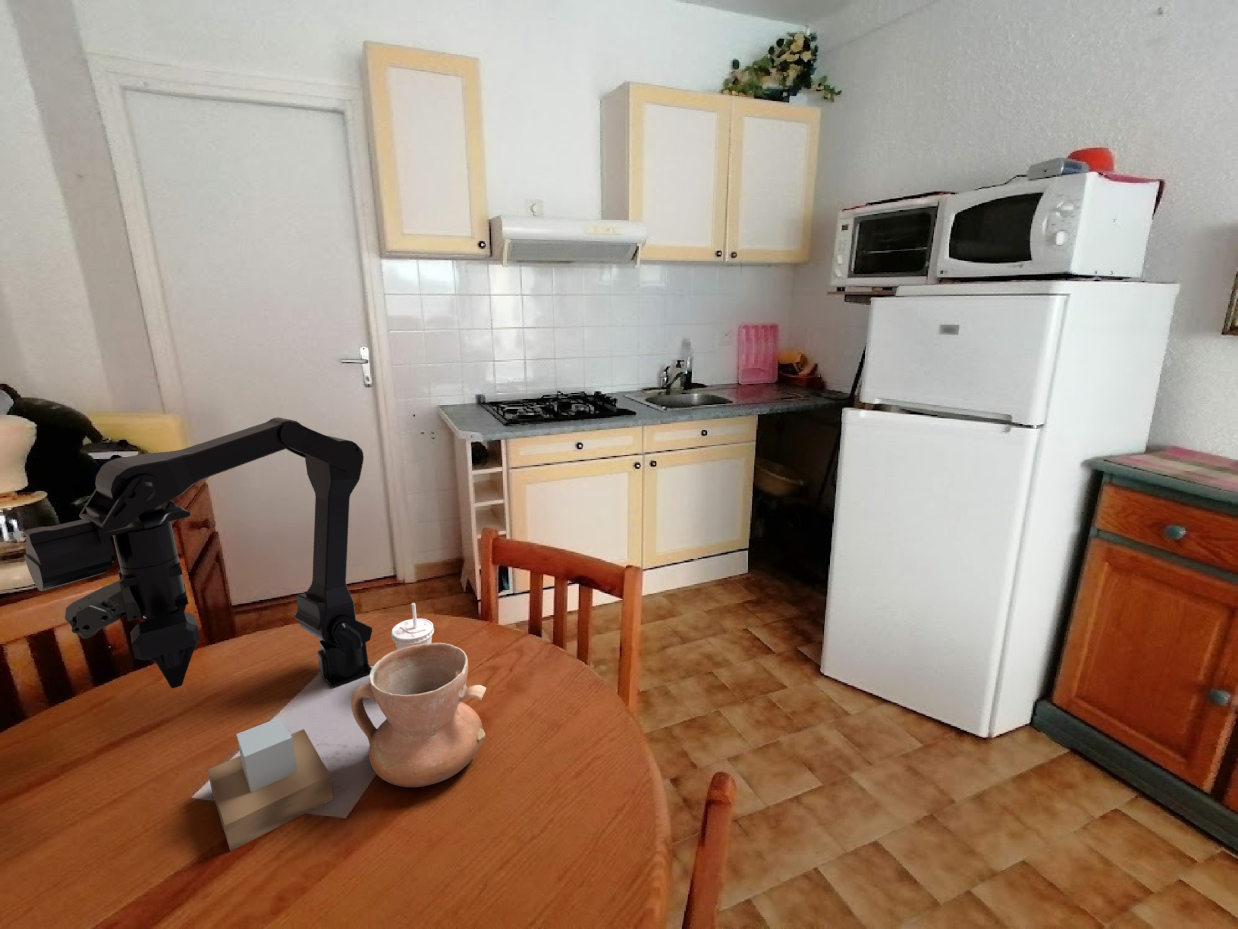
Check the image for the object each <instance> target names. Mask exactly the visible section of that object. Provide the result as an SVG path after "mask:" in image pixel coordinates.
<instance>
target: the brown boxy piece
mask: <svg viewBox="0 0 1238 929" xmlns="http://www.w3.org/2000/svg"><path fill="white" fill-rule="evenodd" d="M290 734H291V736H292V741H293V747H294V753H295V760H296V766H297V772H296V773H294V774H292V775H289V776H287V777H285V778H283V779H280V780H278V781H276V782H274V783H271V784H269V785H267V786H265V787H262V788H260V789H258V790H256V791H253V792H251V791H250V788H249V785H248V783H247V780H246V777H245V774H244V771H243V767H242V762H241V756H240V755H239V756H237V757H234V758H231V759H229V760H227V761H225V762H223V763H220V764H217V765H215V766H213V767H210V768H208V769H207V775H208V778H209V784H210V789H211V793H212V797H213V800H214V803H215V806H216V810H217V813H218V816H219V819H220V823H221V826H222V829H223V831H224V832H223V833H224V836H225V838H226V842H227V845H228V848H229V851H230V852H232V851H234V850H236V849H238V848H240V847H242V846H244V845H246V844H248V843H250V842H252V841H254V840H255V839H258V838H259V837H262V836H263V835H266V834H268V833H269V832H271V831H273V830H276V829H277V828H279V827H281V826H283V825H285V824H288V823H289V822H291V821H293V820H294V819H297V818H299V817H301V816H303V815H305V814H307V813H309V812H311V811H312V810H315V809H317V808H319V807H320V806H323V805H325V804H326V802H327V803H328V801H329V802H331V801H333V800H334V793H333V787H332V780H331V774H330V773H329V771H328V769H327V767H326V765H325V764H324V762H323V760H322V758H321V756H320V754H319V753H318V751H317V750H316V747H315V746H314V744H313V742H312V741H311V739H310V737H309V736H308V733H307V732H306V730H305V729H304V728H303V729H300V730H298V731H295V732H294V733H290ZM330 800H331V801H330ZM322 804H323V805H322Z"/></svg>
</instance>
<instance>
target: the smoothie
mask: <svg viewBox="0 0 1238 929" xmlns="http://www.w3.org/2000/svg"><path fill="white" fill-rule="evenodd" d="M416 607H417V605H416V603H415V602H412V603H411V612H412V618H411V619H407V620H403V621H400V622H399V623H397V624H395V625H394V626H393V627H392V630H391V640H392V641H393V642H394V645H395V648H396V650H399V649H402V648H405V647H410V646H413V645H421V644H426V643H427V644H430V643H433V642H432V639H433V635H434V632H435V628H434V623H433V622H432V621H430V620H428V619H426V618H418V617H417V609H416Z"/></svg>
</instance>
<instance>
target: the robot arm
mask: <svg viewBox="0 0 1238 929" xmlns="http://www.w3.org/2000/svg"><path fill="white" fill-rule="evenodd" d="M284 450H287V451H288V452H291V453H293V454H295V455H297V456H299V457H300V458H303V459H304V460H305V461H304V462H305V468H306V474H307V476H308V477H307V478H308V480H309V483H310V484H311V487H312V489H313V491H314V494H315V496H314V497H315V499H314V503H315V504H314V529H313V555H312V557H313V558H312V580H311V584H310V586H309V587H308V588H307V591H306V592H305V593H298V594H297V595H296V604H297V609H296V613H295V616H294V619H296V620H298V622H299V625H300V628H302V629H303V630H305V631H306V632H307V633H310V634H311V635H313V636H314V637H315V638H319V646H320V650H318V651H317V660H318V667H319V673H320V676H321V677H322V678H323V680H324V681H327V683H328V685H329V686H330V688H335V687H338V686H340V685H343V684H345V683H349V682H351V681H354V680H356V679H359V678H361V677H364V676H368V675H370V671H371V669H372V667H371V665H370V664H369V658H368V651H367V650H368V649H367V643H369V641H371V638H372V637H371V636H372V633H373V627H371V626H369V625H367V623H364V622H362V621H360V620H358V619H357V617H356V616H357V615H356V608H355V602H354V599H353V597H352V595H351V592H350V590H349V588H348V585H347V567H348V566H347V565H348V563H347V562H348V544H349V543H348V542H349V524H350V522H349V521H350V520H349V519H350V500H351V494H352V493H353V491H354V490H355V488H356V486H357V485H358V483H359V481H360V479H361V478H360V477H361V474H362V470H363V464H364V452H363V449H362V447H360V446H359V445H358V444H357V443H356V442H354V441H352V440H348V439H344V438H339V437H335V436H330V435H327V434H326V435H325V434H323V433H320V432H318V431H316V430H313V429H311V428H309V427H306V426H304V425H303V424H301V423H300V422H298V421H297V420H293V419H289V418H288V419H287V418H283V417H279V416H278V417H273V418H270V419H269V420H267V421H266V422H263V423H260V424H257V425H253V426H251V427H247V428H245V429H241V430H238V431H234V432H232V433H229V434H226V435H222V436H220V437H216V438H213V439H210V440H207V441H204V442H201V443H197V444H195V445H194V444H193V445H191V446H188V447H186V448H182V449H177V450H172V451H161V452H158V451H157V452H150V453H149V452H148V453H139V454H136V455H129V456H123V457H117V458H114V459H111V460H109V461H106V462H105V463H104V464H102V465H101V467H100V469H99V471H98V472H97V473H96V475H95V489H94V490H93V492H92V494H91V496H90V497H89V499H88V500H87V502H86V503H85V505H84V507H83V508H82V510H81V511H80V513H79V515H78V517H79V518H81V519H79V520H74V521H69V522H65V523H61V524H56V525H52V526H39V527H35V528H29V529H25V531H24V536H25V539H26V541H25V544H24V545H25V546H24V547H25V553H26V554H24V556H23V557H24V560H25V563H26V567H27V569H28V572H29V574H30V577H31V579H32V581H33V583H34V585H35V587H36V588H37V590H38V591H39V592H43V591H46V590H50V589H54V588H58V587H61V586H64V585H68V584H71V583H75V582H79V581H81V580H86V579H90V578H92V577H96V576H99V575H103V574H106V573H107V571H108V569H111V568H113V563H114V562H115V560H116V555H117V560H118V564H119V568H120V569H118V577H119V580H116V581H115V582H112V583H110V584H107V585H105V586H102V587H101V588H98V589H96V590H95V591H92V592H90V593H89V594H86V595H84V596H83V597H80V598H79V599H77V600H75V601H73V602H72V603H70V604H68V605H67V607H65V613H64V614H65V615H64V620H65V621H66V622H67V623H68V624H69V625H70V627H71V632H72V633H73V634H78V636H80V637H81V638H82V639H89V638H91V637H93V636H95V635H96V634H97V633H98V632H99V631H100V630H102V629H104V628H106V627H108V626H110V625H111V624H114V623H116V622H117V621H119V620H121V619H122V618H124V617H125V616H126V618H127V621H128V622H130V621H135V620H138V619H141V620H142V621H141V622H138V623H137V624H136V625H135V626H134V628H133V629H132V630H130V633H129V634H130V643H131V648H132V652H133V656H134V659H136V660H142V661H145V660H150V661H154V662H155V664H156V665H157V667H158V668H159V670H160V671H161V673H162V675H163V677H164V679H165V680H166V682H167V683H168V685H169V687H170V688H171V689H176V688H178V687H179V688H180V687H182V686H183V683H184V680H185V677H186V675H187V671H188V669H189V665H190V662H191V660H192V657H193V654H194V652H195V649H196V646H197V645H198V643H199V641H201V637H200V636H201V635H200V632H199V628H198V623H197V620H196V616H195V614H192V613H190V612H188V611H186V607H187V605H189V600H188V599H189V598H188V595H187V590H186V586H185V581H184V578H183V569H182V566H181V565H182V564H181V563H180V559H179V554H178V549H177V545H176V540H175V533H174V530H173V526H172V524H173V523H172V522H173V521H177V520H181V519H185V518H189V517H190V516H191V514H192V513H191V512H190V511H189V510H187V509H185V508H182V507H180V506H179V505H177V504H176V503H175V502H174V501H173V500H174V499H176V498H178V497H180V496H182V495H183V494H184V493H185V492H186V491H187V490H189V489H190V488H191V487H192V486H193V485H195V484H197V483H199V482H200V481H202V480H205V479H207V478H209V477H213V476H216V475H218V474H220V473H224V472H226V471H228V470H232V469H235V468H238V467H239V466H243V465H245V464H249V463H251V462H254V461H256V460H259V459H261V458H265V457H268V456H269V455H272V454H276V453H278V452H281V451H284ZM111 536H112V538H113V542H114V545H113V542H112V539H111ZM114 546H115V549H114ZM115 551H116V554H115Z"/></svg>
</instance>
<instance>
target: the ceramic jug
mask: <svg viewBox="0 0 1238 929" xmlns="http://www.w3.org/2000/svg"><path fill="white" fill-rule="evenodd" d="M371 668H372V669H371V671H370V674H368V676H369V682H367V683H364V684H363V685H360V686H358V687H357V688H356V689H355V690H354V692H353V693H352V696H351V700H350V701H351V702H350V704H351V711H352V715H353V718H354V720H355V722H356V724H357V725H358V726H359V728H360V729H361V731H362V732H363V733H364V734H365V736H366V737H367V739H368V743H369V747H368V759H369V763H370V766H371V768H372V770H373V771H374V773H375V774H376V775H377V776H378V777H380V779H382V780H383V781H385V782H387V783H389V784H391V785H394V786H399V787H404V788H420V787H427V786H430V785H434V784H438V783H440V782H443V781H445V780H447V779H449V778H452V777H453V776H455V775H456V774H458V773H459V772H461V771H462V770H464V768H465V767H466V766H467V765H469V763H471V761H472V759H473V758H474V757H475V756H476V754H477V753H478V751H479V750H480V748H481V747H482V745H483V744H484V742H485V740H486V732H485V730H484V729H483V723H482V719H481V718H480V716H479V714H478V713H477V712H476V710H475V709H473V708H472V707H471V706H469V705H468V704H467V703H464V702H463V701H466V700H469V699H476V700H478V701H480V702H481V701H482V699H483V697H484V695H485V692H486V690H487V687H486V686H483V685H481V684H476V685H475V684H473V685H470V686H467V679H468V673H469V672H468V671H469V660H468V656H467V654H466V652H465V651H464V650H462V649H461V648H460V647H458V646H455V645H453V644H450V643H443V642H431V643H430V644H427V643H426V644H421V645H413V646H410V647H405V648H402V649H399V650H397V649H396V650H394V651H392V652H388V653H387V654H386V655H384V656H383V657H382V658H380V659H379V660H377V661H376V663H374V665H373V666H372V667H371ZM459 672H460V673H459ZM364 698H366V699H369V700H373V701H375V702H376V704H377V705H378V707H379V709H380V711H381V712H382V714H383V715H384V717H385V718H386V719H385V720H384V721H383V722H382V723H381V724H379V726H378V727H376V726H375V725H374V723H373V722H372V721H371V718H370V717H369V714H368V713H367V710H366V708H365V705H364V700H363V699H364Z"/></svg>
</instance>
